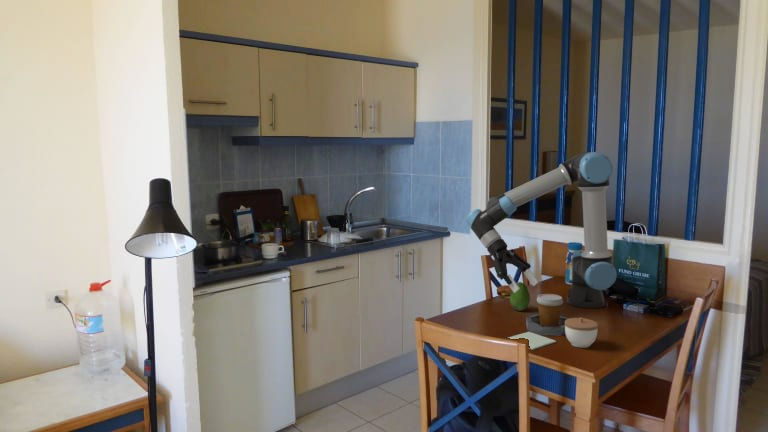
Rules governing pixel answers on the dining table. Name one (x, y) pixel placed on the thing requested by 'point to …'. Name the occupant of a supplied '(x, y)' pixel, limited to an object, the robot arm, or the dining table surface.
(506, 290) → the burger
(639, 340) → the dining table surface
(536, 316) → the grey shallow tray
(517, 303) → the avocado
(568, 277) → the beverage bottle
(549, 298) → the disposable coffee cup
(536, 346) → the sage mat
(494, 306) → the dining table surface
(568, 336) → the lidded jar
